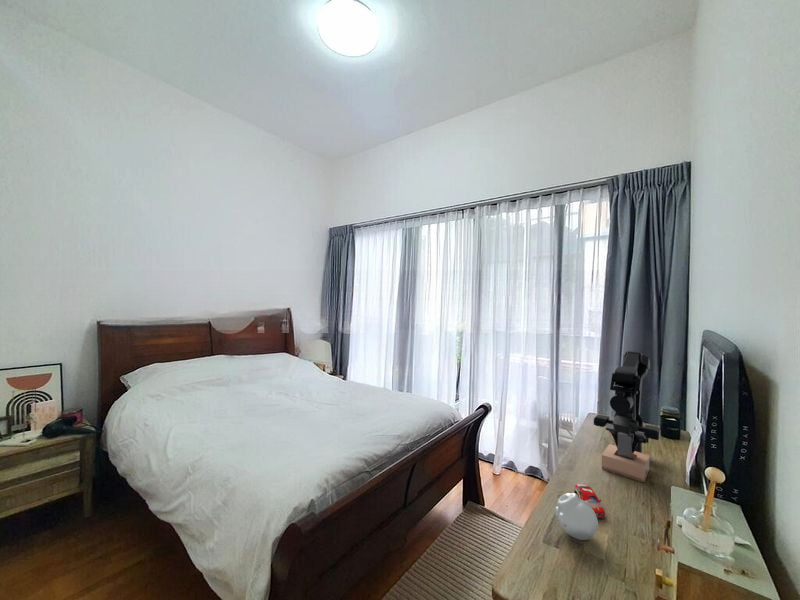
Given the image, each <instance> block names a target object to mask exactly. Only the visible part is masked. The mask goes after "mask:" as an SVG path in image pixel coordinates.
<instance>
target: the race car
mask: <svg viewBox="0 0 800 600" xmlns="http://www.w3.org/2000/svg"><path fill="white" fill-rule="evenodd" d="M573 490H574V492H573V493H575V494H577V495H578V497H579V498H580V499H581V500H583V501H585V502H586V503H588V504H589V505H590V506H591V508H592V509H593V510H594V512H595V514H596V516H597V520H603V519H605V518H606V510H605V509H604V507H603V505H602V499H599V498H598V496H597V494H596V493H595V491H594V490H593V488H592V487H591V486H589V485H588V484H583V483H577V484H575V486H574V489H573Z"/></svg>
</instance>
